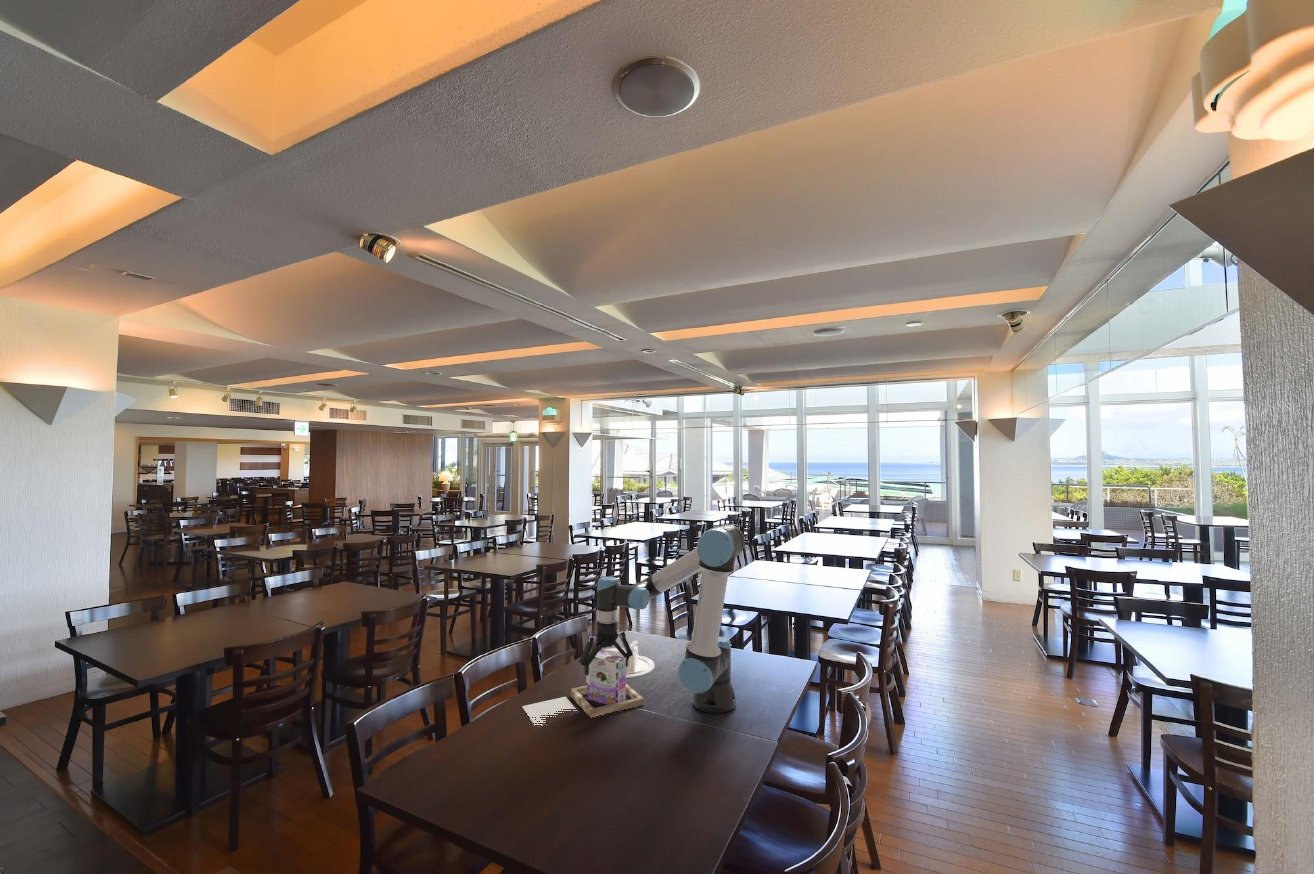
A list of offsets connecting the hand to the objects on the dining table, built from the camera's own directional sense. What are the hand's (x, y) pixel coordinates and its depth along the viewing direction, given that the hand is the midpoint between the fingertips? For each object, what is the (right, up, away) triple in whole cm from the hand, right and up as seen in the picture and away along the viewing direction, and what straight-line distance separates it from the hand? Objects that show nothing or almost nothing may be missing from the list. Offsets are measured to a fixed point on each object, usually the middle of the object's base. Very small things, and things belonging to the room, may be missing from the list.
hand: (606, 679), depth 193 cm
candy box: (0, -8, 0) cm, 8 cm away
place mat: (-17, -7, -10) cm, 21 cm away
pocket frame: (0, -8, 0) cm, 8 cm away
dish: (+5, -10, +32) cm, 34 cm away
